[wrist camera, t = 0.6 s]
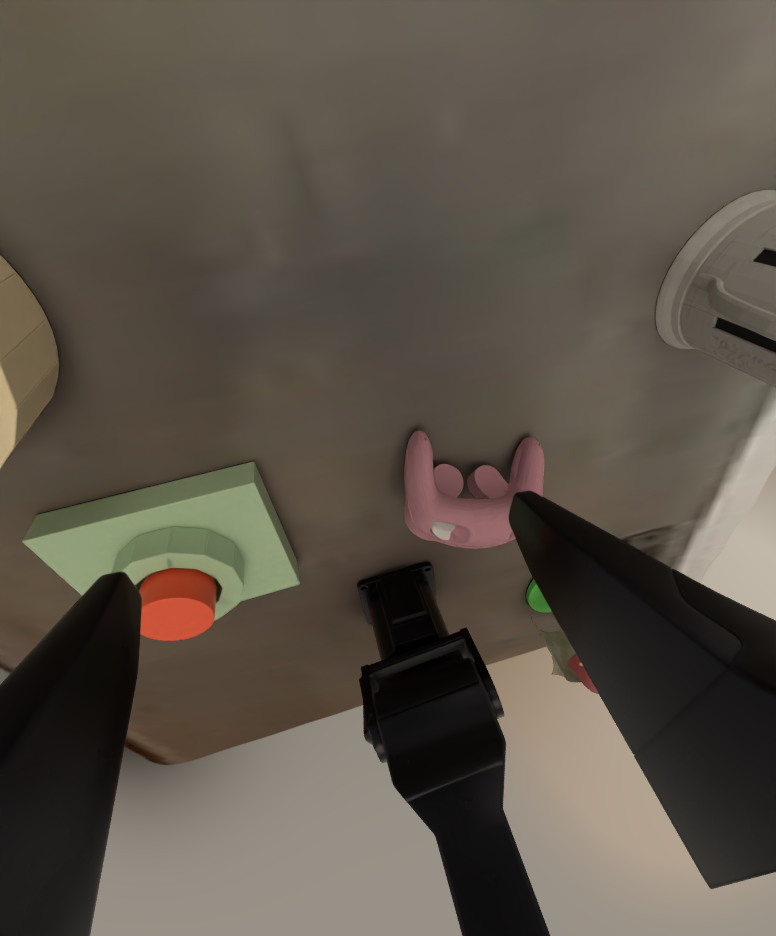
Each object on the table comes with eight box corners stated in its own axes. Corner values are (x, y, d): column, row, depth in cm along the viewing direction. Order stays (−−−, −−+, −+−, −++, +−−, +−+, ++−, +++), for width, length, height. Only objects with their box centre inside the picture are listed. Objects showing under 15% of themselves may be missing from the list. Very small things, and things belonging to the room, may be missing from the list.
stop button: (226, 597, 25) (225, 627, 24) (160, 616, 25) (154, 648, 23) (200, 558, 23) (196, 589, 21) (125, 579, 22) (116, 612, 21)
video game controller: (387, 457, 28) (401, 557, 25) (411, 423, 24) (430, 536, 22) (506, 461, 32) (531, 550, 29) (544, 431, 28) (576, 531, 25)
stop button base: (297, 562, 30) (302, 609, 27) (131, 609, 29) (117, 664, 26) (254, 460, 24) (254, 507, 21) (36, 514, 22) (3, 573, 19)
